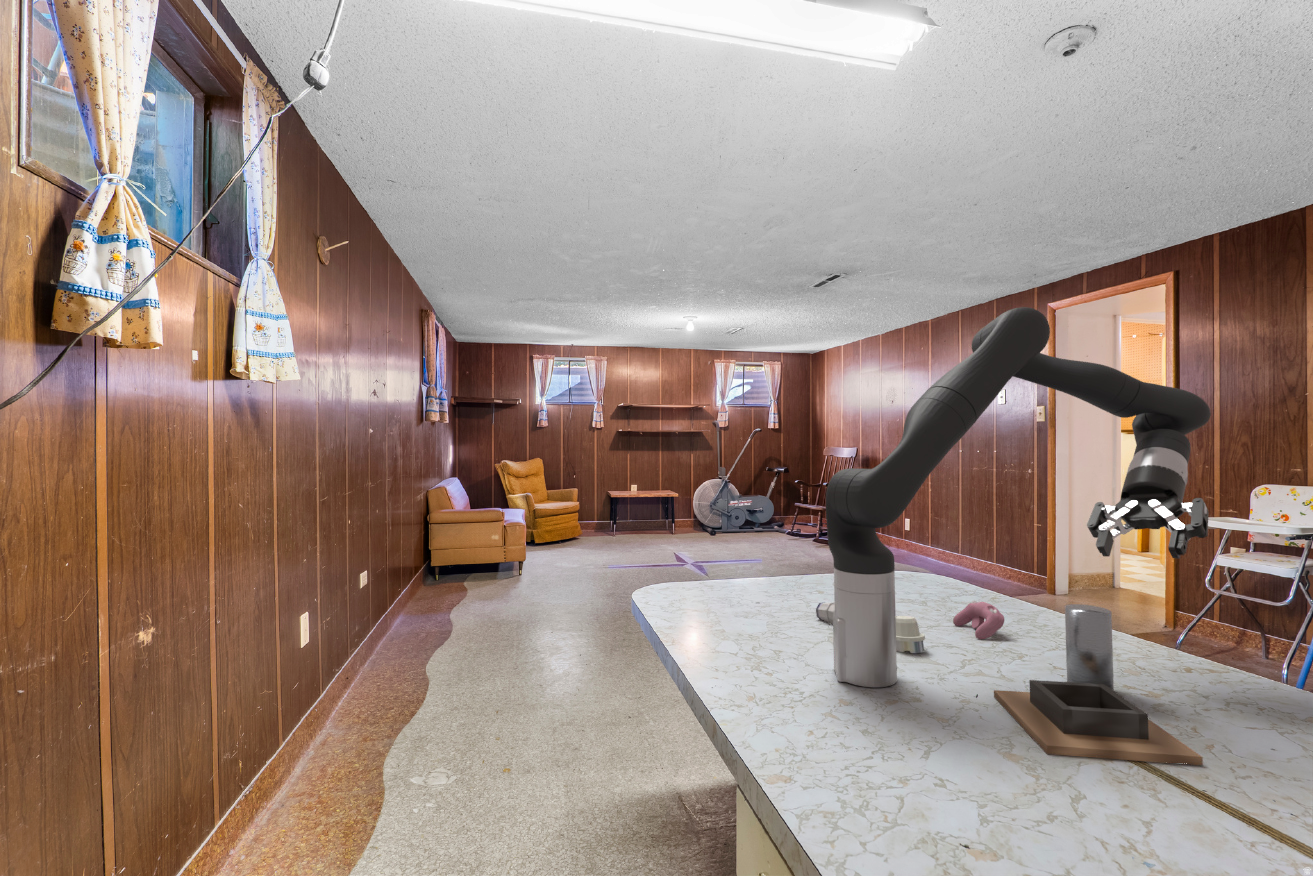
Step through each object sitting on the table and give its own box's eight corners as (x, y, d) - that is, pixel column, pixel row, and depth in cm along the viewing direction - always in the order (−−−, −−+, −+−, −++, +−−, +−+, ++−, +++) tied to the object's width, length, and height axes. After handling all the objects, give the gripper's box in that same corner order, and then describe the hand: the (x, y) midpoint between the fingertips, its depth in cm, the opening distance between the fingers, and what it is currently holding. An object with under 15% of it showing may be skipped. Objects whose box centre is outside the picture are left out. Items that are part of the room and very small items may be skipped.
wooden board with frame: (1046, 753, 68) (1045, 719, 68) (993, 697, 84) (993, 669, 84) (1202, 765, 65) (1201, 730, 65) (1117, 704, 81) (1116, 675, 81)
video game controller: (997, 648, 109) (1013, 615, 109) (975, 638, 109) (991, 604, 109) (969, 632, 119) (984, 601, 119) (949, 622, 119) (964, 591, 119)
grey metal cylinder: (1079, 696, 84) (1076, 613, 84) (1059, 681, 89) (1057, 603, 90) (1122, 699, 83) (1120, 615, 83) (1100, 683, 88) (1098, 604, 89)
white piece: (831, 599, 126) (928, 611, 103) (834, 631, 125) (933, 650, 102) (812, 602, 123) (907, 615, 101) (815, 634, 122) (912, 655, 100)
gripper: (1095, 468, 99) (1073, 536, 91) (1204, 458, 88) (1190, 535, 80) (1112, 499, 101) (1092, 568, 93) (1221, 495, 90) (1209, 573, 82)
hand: (1137, 553), depth 86 cm, fingers open, 8 cm apart
